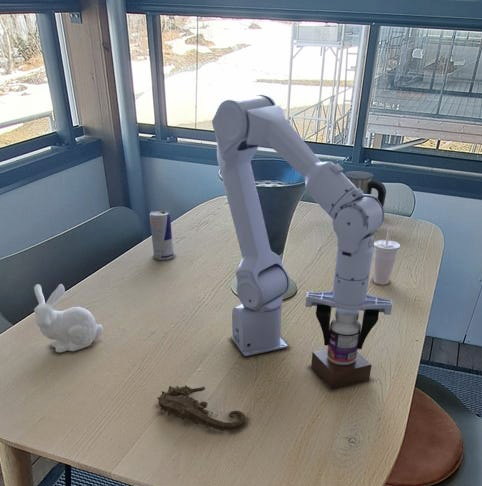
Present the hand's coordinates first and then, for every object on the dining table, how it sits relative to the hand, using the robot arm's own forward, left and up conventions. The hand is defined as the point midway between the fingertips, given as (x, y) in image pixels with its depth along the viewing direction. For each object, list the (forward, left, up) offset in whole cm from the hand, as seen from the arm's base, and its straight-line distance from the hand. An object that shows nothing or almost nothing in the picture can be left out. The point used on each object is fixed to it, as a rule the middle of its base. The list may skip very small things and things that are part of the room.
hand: (343, 344), depth 96 cm
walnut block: (0, 0, -6) cm, 6 cm away
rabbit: (-46, +30, -7) cm, 55 cm away
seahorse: (-28, -1, -7) cm, 29 cm away
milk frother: (+52, +77, -7) cm, 93 cm away
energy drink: (-16, +69, -7) cm, 71 cm away
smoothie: (+31, +33, -7) cm, 46 cm away
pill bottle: (0, 0, -3) cm, 3 cm away
